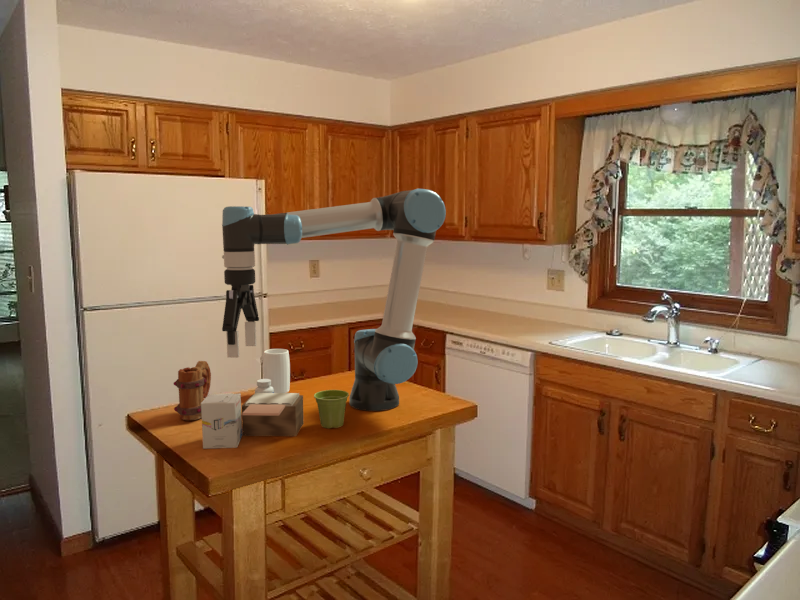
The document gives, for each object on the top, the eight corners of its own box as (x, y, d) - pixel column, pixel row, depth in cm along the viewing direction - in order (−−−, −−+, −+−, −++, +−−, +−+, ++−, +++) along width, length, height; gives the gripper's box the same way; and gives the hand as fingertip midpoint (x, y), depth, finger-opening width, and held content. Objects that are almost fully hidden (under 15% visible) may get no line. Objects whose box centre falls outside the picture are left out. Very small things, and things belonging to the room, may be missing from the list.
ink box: (209, 437, 159) (207, 393, 158) (243, 436, 160) (241, 392, 158) (201, 449, 151) (199, 402, 149) (237, 448, 151) (235, 402, 150)
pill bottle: (264, 409, 182) (263, 377, 181) (278, 411, 180) (277, 379, 178) (251, 414, 178) (250, 381, 176) (265, 417, 175) (264, 383, 174)
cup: (287, 398, 193) (286, 354, 192) (261, 398, 193) (259, 354, 192) (292, 390, 202) (291, 348, 200) (267, 390, 202) (265, 348, 200)
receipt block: (303, 423, 169) (302, 392, 168) (296, 436, 159) (295, 403, 158) (253, 423, 170) (252, 392, 169) (242, 435, 160) (241, 403, 159)
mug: (196, 424, 169) (194, 371, 167) (169, 422, 170) (166, 369, 168) (222, 408, 183) (220, 359, 181) (197, 407, 184) (194, 358, 182)
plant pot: (335, 433, 162) (334, 401, 160) (307, 427, 167) (306, 395, 165) (356, 423, 169) (355, 392, 168) (329, 417, 174) (328, 387, 173)
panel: (285, 407, 158) (285, 404, 158) (278, 415, 151) (278, 413, 151) (250, 406, 158) (250, 404, 158) (242, 415, 151) (242, 412, 151)
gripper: (241, 264, 167) (244, 341, 170) (205, 272, 142) (209, 362, 145) (268, 264, 167) (270, 341, 169) (237, 272, 142) (240, 362, 145)
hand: (242, 351), depth 157 cm, fingers open, 13 cm apart
